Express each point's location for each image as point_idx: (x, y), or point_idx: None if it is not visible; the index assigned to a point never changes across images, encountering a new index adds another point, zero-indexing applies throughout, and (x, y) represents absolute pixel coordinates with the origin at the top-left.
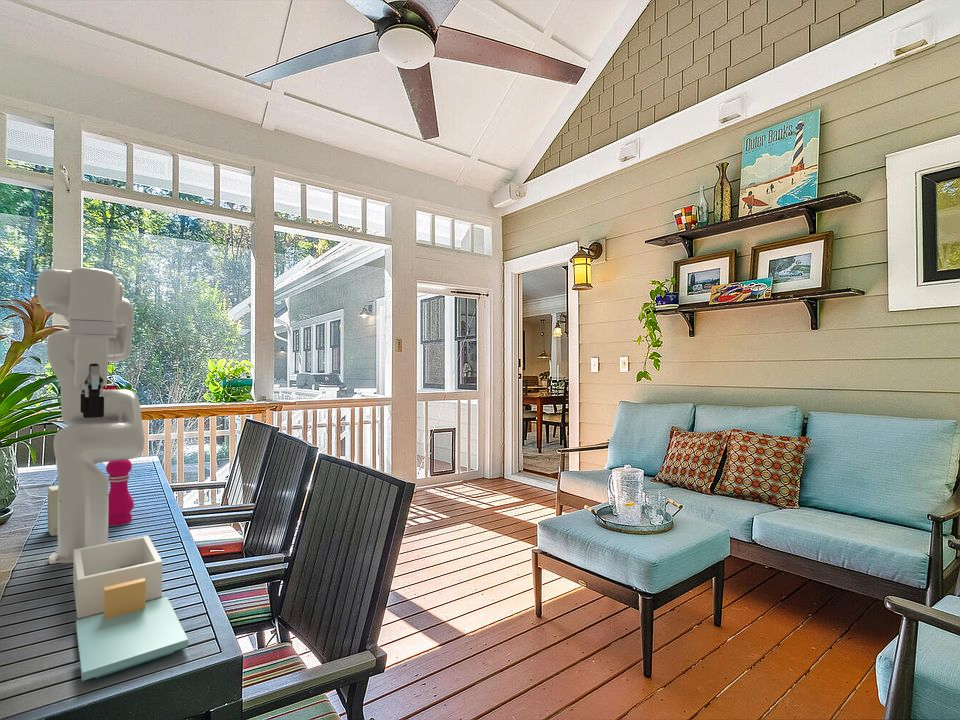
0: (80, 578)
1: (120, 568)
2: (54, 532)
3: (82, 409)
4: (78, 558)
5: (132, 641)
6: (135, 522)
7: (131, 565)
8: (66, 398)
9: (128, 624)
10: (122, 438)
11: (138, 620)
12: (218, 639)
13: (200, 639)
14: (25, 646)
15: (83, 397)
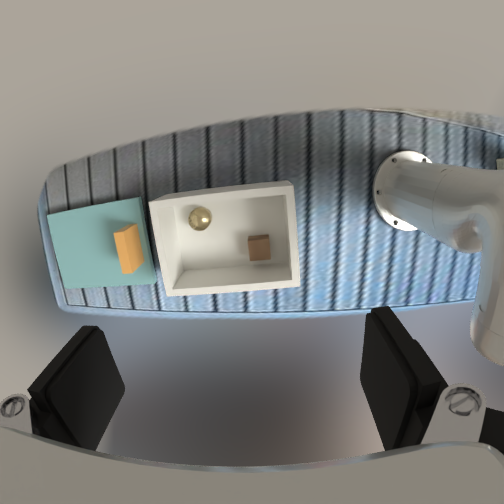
0: (152, 204)
1: (262, 239)
2: (499, 162)
3: (372, 325)
4: (241, 194)
5: (75, 249)
6: None
7: (266, 253)
8: None
9: (106, 246)
10: (492, 325)
11: (110, 255)
12: (84, 307)
13: (88, 295)
14: (141, 153)
15: (29, 390)
